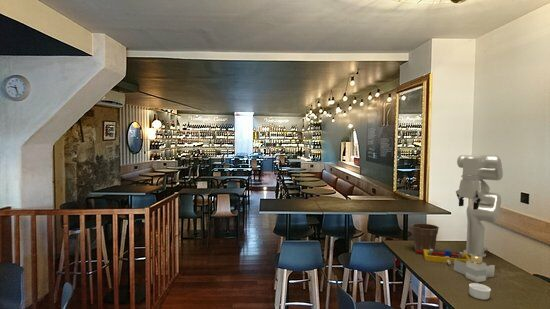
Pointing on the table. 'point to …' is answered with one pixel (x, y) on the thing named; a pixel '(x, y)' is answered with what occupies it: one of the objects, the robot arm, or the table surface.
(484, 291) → the ramekin
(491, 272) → the white corner connector
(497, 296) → the table surface
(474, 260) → the wooden bell shape
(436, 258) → the mechanical clamp
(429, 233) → the plant pot
